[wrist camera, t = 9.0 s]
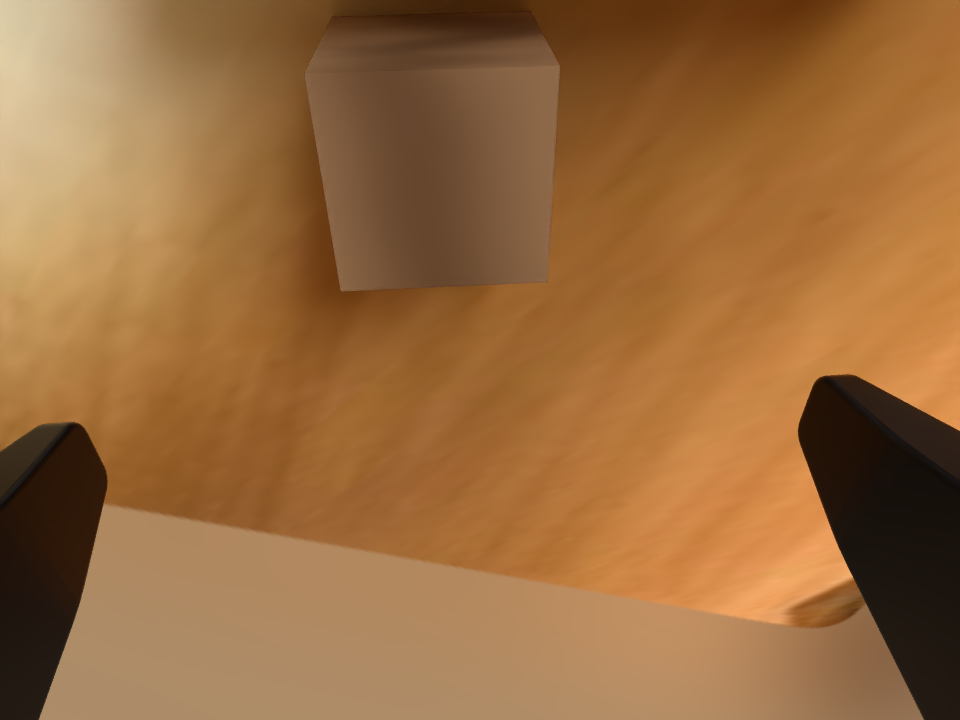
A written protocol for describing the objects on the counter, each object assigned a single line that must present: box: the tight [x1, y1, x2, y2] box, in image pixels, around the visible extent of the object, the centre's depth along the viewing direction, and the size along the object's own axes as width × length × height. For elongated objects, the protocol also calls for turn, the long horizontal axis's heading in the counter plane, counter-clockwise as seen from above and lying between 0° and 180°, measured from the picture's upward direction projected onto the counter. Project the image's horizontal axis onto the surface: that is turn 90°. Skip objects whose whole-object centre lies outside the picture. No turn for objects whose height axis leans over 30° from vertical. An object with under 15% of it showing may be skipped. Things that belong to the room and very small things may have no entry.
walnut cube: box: [304, 11, 560, 291], centre depth 17 cm, size 5×5×5 cm
